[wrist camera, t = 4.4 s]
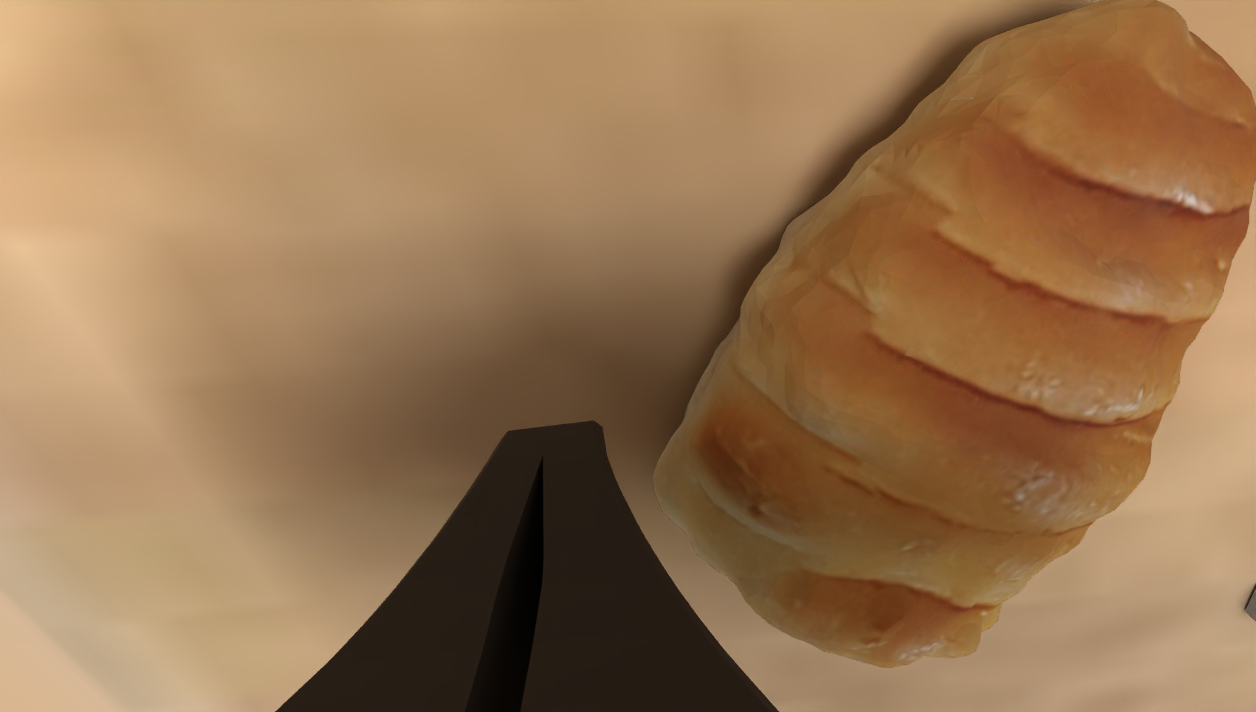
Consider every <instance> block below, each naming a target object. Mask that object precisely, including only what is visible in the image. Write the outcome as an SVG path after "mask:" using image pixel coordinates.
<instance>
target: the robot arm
mask: <svg viewBox="0 0 1256 712" xmlns="http://www.w3.org/2000/svg"><path fill="white" fill-rule="evenodd" d="M275 712H779V711H778V710H777V709H776V708H775V707H774V706H773V704H772V703H771V702H770V701H769V700H768V699H767V698H766V697H765V695H764V694H763V693H762V692H761V691H760V690H759V689H758V688H757V686H756V685H755V684H754V683H753V682H752V681H751V680H750V679H749V677H748V676H747V675H746V674H745V673H744V672H743V671H742V670H741V668H740V667H739V666H738V665H737V664H736V663H735V662H734V661H733V659H732V658H731V657H730V656H729V655H728V654H727V653H726V651H725V650H724V649H723V648H722V646H721V645H720V644H719V643H718V641H717V640H716V639H715V638H714V636H713V635H712V634H711V632H710V631H709V630H708V629H707V627H706V626H705V625H704V624H703V622H702V621H701V620H700V618H699V617H698V616H697V614H696V613H695V612H694V610H693V609H692V608H691V606H690V605H689V603H688V602H687V601H686V599H685V598H684V597H683V595H682V594H681V592H680V591H679V590H678V588H677V587H676V585H675V584H674V582H673V581H672V579H671V578H670V576H669V575H668V573H667V572H666V570H665V569H664V567H663V566H662V564H661V563H660V561H659V559H658V558H657V556H656V554H655V553H654V551H653V549H652V548H651V546H650V544H649V543H648V541H647V540H646V538H645V536H644V534H643V533H642V531H641V529H640V527H639V525H638V524H637V522H636V520H635V518H634V516H633V514H632V512H631V510H630V508H629V506H628V504H627V502H626V500H625V498H624V496H623V494H622V492H621V490H620V488H619V485H618V483H617V481H616V479H615V476H614V474H613V471H612V468H611V466H610V463H609V460H608V457H607V453H606V447H605V441H604V435H603V428H602V426H600V425H599V424H598V423H596V422H595V421H587V422H579V423H570V424H562V425H554V426H546V427H537V428H529V429H521V430H513V431H508V432H507V433H506V434H505V436H504V437H503V438H502V439H501V441H500V442H499V444H498V446H497V447H496V449H495V450H494V452H493V453H492V455H491V457H490V458H489V460H488V461H487V463H486V464H485V466H484V468H483V469H482V471H481V472H480V474H479V475H478V477H477V478H476V480H475V481H474V483H473V484H472V486H471V487H470V489H469V490H468V492H467V493H466V495H465V496H464V498H463V499H462V500H461V502H460V503H459V505H458V506H457V508H456V509H455V510H454V512H453V513H452V515H451V516H450V517H449V519H448V520H447V522H446V523H445V524H444V526H443V527H442V529H441V530H440V532H439V533H438V534H437V536H436V537H435V538H434V540H433V541H432V542H431V544H430V545H429V546H428V547H427V549H426V550H425V551H424V552H423V554H422V555H421V556H420V558H419V559H418V560H417V561H416V563H415V564H414V565H413V566H412V568H411V569H410V570H409V571H408V573H407V574H406V575H405V576H404V578H403V579H402V580H401V581H400V583H399V584H398V585H397V587H396V588H395V589H394V590H393V591H392V593H391V594H390V595H389V596H388V597H387V598H386V600H385V601H384V602H383V603H382V604H381V605H380V606H379V608H378V609H377V610H376V611H375V612H374V613H373V614H372V616H371V617H370V618H369V619H368V620H367V621H366V622H365V623H364V625H363V626H362V627H361V628H360V629H359V630H358V631H357V632H356V633H355V634H354V635H353V636H352V637H351V639H350V640H349V641H348V642H347V643H346V644H345V645H344V646H343V647H342V648H341V649H340V650H339V651H338V652H337V653H336V654H335V655H334V656H333V657H332V658H331V659H330V660H329V662H328V663H327V664H326V665H325V666H324V667H322V668H321V669H320V670H319V671H318V672H317V673H316V674H315V675H314V676H313V677H312V678H311V679H310V680H309V681H308V682H306V683H305V684H304V685H303V686H302V687H301V688H300V689H299V690H298V691H297V692H296V693H295V694H294V695H293V696H291V697H290V698H289V699H288V700H287V701H286V702H285V703H284V704H283V705H282V706H281V707H280V708H279V709H278V710H277V711H275Z"/></svg>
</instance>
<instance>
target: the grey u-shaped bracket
mask: <svg viewBox="0 0 1256 712" xmlns="http://www.w3.org/2000/svg"><path fill="white" fill-rule="evenodd" d="M1245 611H1246V612H1247V613H1248V614H1249V615H1250V616H1251V617H1252V618H1253V619H1254V620H1255V621H1256V589H1255V591H1254V593H1253V595H1252V597H1251V599H1250V601H1249V604H1248V606H1247V608H1246V610H1245Z"/></svg>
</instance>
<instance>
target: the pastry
mask: <svg viewBox="0 0 1256 712" xmlns="http://www.w3.org/2000/svg"><path fill="white" fill-rule="evenodd" d="M1255 181H1256V106H1255V103H1254V100H1253V97H1252V93H1251V91H1250V89H1249V88H1248V86H1247V85H1246V84H1245V83H1244V82H1243V81H1242V80H1241V78H1240V77H1239V76H1238V75H1237V74H1236V73H1235V71H1234V70H1233V69H1232V68H1231V67H1230V66H1229V65H1228V63H1227V62H1226V61H1225V60H1224V59H1223V58H1222V57H1221V56H1220V55H1219V54H1217V53H1216V52H1215V51H1214V50H1213V49H1211V48H1210V47H1209V46H1208V45H1207V44H1206V43H1205V42H1203V41H1202V40H1201V39H1200V38H1199V37H1198V36H1196V35H1195V34H1194V33H1192V32H1190V31H1189V30H1188V27H1187V24H1186V21H1185V20H1184V19H1183V18H1182V16H1181V15H1180V14H1179V13H1178V12H1177V11H1176V10H1175V9H1174V8H1172V7H1170V6H1168V5H1166V4H1164V3H1162V2H1160V1H1157V0H1103V1H1100V2H1097V3H1093V4H1090V5H1087V6H1084V7H1081V8H1078V9H1075V10H1072V11H1069V12H1066V13H1063V14H1060V15H1057V16H1054V17H1051V18H1048V19H1045V20H1041V21H1038V22H1035V23H1031V24H1027V25H1024V26H1020V27H1017V28H1014V29H1012V30H1009V31H1006V32H1004V33H1001V34H998V35H996V36H993V37H991V38H989V39H987V40H985V41H983V42H982V43H980V44H978V45H977V46H975V48H974V49H973V50H972V51H971V52H970V53H969V54H968V55H967V56H966V57H965V58H964V60H963V61H962V62H961V63H960V65H959V66H958V67H957V68H956V70H955V71H954V72H953V73H952V74H951V76H950V77H949V78H948V79H947V80H946V82H945V83H944V84H943V85H941V86H940V87H939V88H937V89H936V90H935V91H933V92H932V93H931V94H929V95H928V96H927V97H926V98H924V99H923V100H922V101H921V102H920V103H919V104H918V105H917V106H916V107H915V109H914V110H913V112H912V113H911V114H910V116H909V117H908V119H907V120H906V121H905V123H904V124H903V125H902V126H900V127H899V128H898V129H897V130H896V131H895V132H894V133H893V134H892V135H890V136H889V137H888V138H886V139H885V140H883V141H882V142H880V143H878V144H877V145H875V146H874V147H872V148H871V149H869V150H868V151H867V152H866V153H864V154H863V155H862V156H861V157H860V158H859V159H858V160H857V161H856V162H855V164H854V165H853V167H852V168H851V170H850V171H849V173H848V174H847V176H846V177H845V178H844V179H843V180H842V181H841V182H840V183H839V184H838V186H837V187H836V188H835V189H834V190H833V191H832V192H831V193H830V194H829V195H827V196H826V197H825V198H823V199H822V200H820V201H819V202H817V203H816V204H814V205H813V206H812V207H810V208H809V209H808V210H806V211H805V212H804V213H802V214H801V215H799V216H798V217H797V218H795V219H794V220H793V221H792V222H791V223H790V224H789V225H788V226H787V228H786V230H785V232H784V234H783V236H782V239H781V242H780V246H779V249H778V251H777V252H776V254H775V255H774V257H773V258H772V259H771V260H770V261H769V263H768V264H767V265H766V266H765V267H764V268H763V269H762V271H761V272H760V274H759V275H758V277H757V278H756V279H755V281H754V282H753V284H752V286H751V287H750V289H749V291H748V293H747V294H746V296H745V298H744V300H743V303H742V305H741V312H740V317H739V319H738V320H737V322H736V324H735V325H734V327H733V328H732V330H731V331H730V333H729V334H728V335H727V337H726V338H725V339H724V340H723V341H722V342H721V343H720V345H719V346H718V347H717V349H716V350H715V352H714V354H713V357H712V359H711V361H710V363H709V365H708V367H707V368H706V370H705V372H704V373H703V375H702V376H701V378H700V380H699V383H698V385H697V387H696V389H695V391H694V393H693V395H692V398H691V400H690V401H689V403H688V406H687V409H686V412H685V415H684V420H683V422H682V423H681V425H680V426H679V428H678V429H677V430H676V431H675V433H674V434H673V435H672V437H671V439H670V440H669V442H668V444H667V446H666V447H665V449H664V451H663V453H662V454H661V456H660V458H659V459H658V462H657V465H656V468H655V470H654V472H653V485H654V492H655V495H656V498H657V500H658V502H659V505H660V507H661V509H662V511H663V512H664V513H665V514H666V516H667V517H668V518H669V519H670V520H671V521H672V522H674V523H675V524H676V525H677V526H678V527H679V528H680V529H681V530H682V531H683V532H684V533H685V534H686V535H687V536H688V537H689V539H690V541H691V544H692V546H693V548H694V550H695V552H696V553H697V555H698V556H699V557H701V558H702V559H703V560H704V561H706V562H707V563H708V564H709V565H711V566H712V567H713V568H714V569H716V570H718V571H719V572H721V573H723V574H724V575H726V576H727V577H728V578H729V579H730V580H731V581H732V582H733V583H734V584H735V585H736V586H737V588H738V589H739V591H740V593H741V594H742V596H743V598H744V599H745V601H746V602H747V603H748V604H749V605H750V606H751V607H752V608H753V610H754V611H755V612H756V613H757V614H759V615H760V616H761V617H762V618H763V619H764V620H766V621H767V622H768V623H769V624H771V625H772V626H774V627H776V628H777V629H779V630H781V631H782V632H785V633H786V634H788V635H790V636H792V637H793V638H796V639H799V640H802V641H805V642H807V643H809V644H811V645H813V646H815V647H817V648H819V649H821V650H822V651H824V652H829V653H833V654H837V655H840V656H843V657H847V658H850V659H853V660H857V661H860V662H863V663H867V664H870V665H874V666H878V667H884V668H891V667H898V666H902V665H907V664H910V663H912V662H914V661H915V660H917V659H919V658H921V657H923V656H928V657H949V658H956V657H961V656H966V655H969V654H971V653H973V652H975V651H976V649H977V647H978V644H979V641H980V636H981V632H982V631H985V630H987V629H989V628H990V627H991V626H992V625H993V624H994V623H995V622H997V620H998V616H999V612H1000V608H1001V605H1002V603H1003V602H1004V601H1005V600H1007V599H1009V598H1010V597H1012V596H1014V595H1016V594H1017V593H1019V592H1020V591H1021V590H1022V589H1023V588H1024V586H1025V585H1026V583H1027V582H1028V581H1029V580H1030V579H1031V578H1032V577H1033V576H1034V575H1035V574H1036V573H1037V572H1039V571H1040V570H1041V569H1042V568H1043V567H1045V566H1046V565H1047V564H1048V563H1050V562H1051V561H1053V560H1054V559H1056V558H1058V557H1060V556H1062V555H1064V554H1066V553H1068V552H1069V551H1070V550H1071V549H1073V548H1074V547H1075V546H1077V545H1078V544H1079V543H1080V541H1081V540H1082V538H1083V537H1084V535H1085V533H1086V531H1087V529H1088V527H1089V526H1090V525H1091V524H1092V523H1093V522H1094V521H1095V520H1096V519H1098V518H1100V517H1102V516H1104V515H1106V514H1108V513H1110V512H1112V511H1113V510H1115V509H1116V508H1117V507H1118V506H1119V505H1120V504H1121V503H1122V502H1124V500H1125V499H1126V498H1127V497H1128V496H1129V495H1130V494H1131V492H1132V491H1133V490H1134V489H1135V488H1136V487H1137V486H1138V484H1139V483H1140V482H1141V481H1142V480H1143V479H1144V477H1145V474H1146V472H1147V469H1148V467H1149V464H1150V459H1151V446H1152V439H1153V437H1154V435H1155V433H1156V430H1157V428H1158V426H1159V423H1160V421H1161V418H1162V415H1163V412H1164V410H1165V409H1166V407H1167V405H1168V404H1169V403H1170V402H1171V401H1172V399H1173V397H1174V395H1175V393H1176V390H1177V387H1178V385H1179V383H1180V370H1181V363H1182V359H1183V356H1184V353H1185V351H1186V349H1187V348H1188V347H1189V345H1190V344H1191V343H1192V342H1193V341H1194V340H1195V338H1196V336H1197V334H1198V333H1199V331H1200V329H1201V327H1202V325H1203V324H1204V323H1205V322H1206V321H1207V320H1208V319H1209V318H1210V317H1211V315H1212V314H1213V313H1214V311H1215V309H1216V307H1217V305H1218V303H1219V301H1220V298H1221V296H1222V294H1223V292H1224V286H1225V283H1226V280H1227V276H1228V273H1229V270H1230V267H1231V263H1232V259H1233V257H1234V255H1235V254H1236V252H1237V250H1238V248H1239V246H1240V245H1241V243H1242V241H1243V240H1244V238H1245V236H1246V232H1247V229H1248V225H1249V208H1250V205H1251V201H1252V195H1253V189H1254V183H1255Z"/></svg>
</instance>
